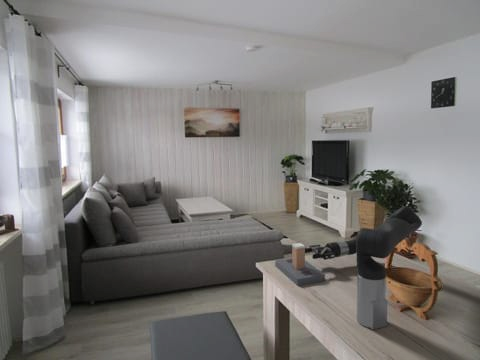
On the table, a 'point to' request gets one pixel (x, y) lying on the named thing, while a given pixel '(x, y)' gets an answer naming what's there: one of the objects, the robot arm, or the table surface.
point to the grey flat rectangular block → (300, 272)
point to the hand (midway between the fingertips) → (308, 253)
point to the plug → (298, 256)
